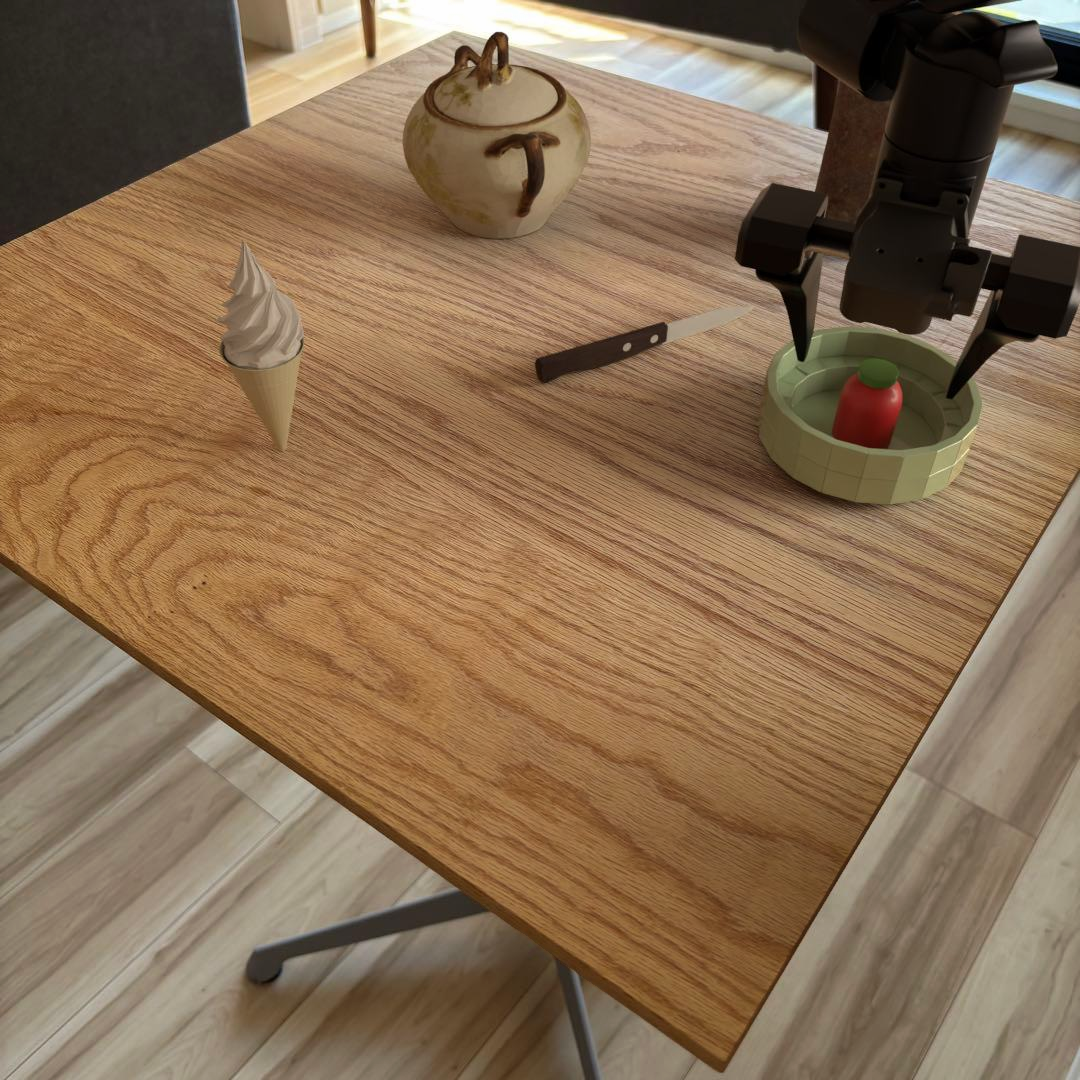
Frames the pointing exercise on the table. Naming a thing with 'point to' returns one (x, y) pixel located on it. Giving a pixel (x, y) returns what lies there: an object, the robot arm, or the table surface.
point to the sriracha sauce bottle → (869, 405)
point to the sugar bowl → (496, 143)
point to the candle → (851, 152)
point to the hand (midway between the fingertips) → (874, 376)
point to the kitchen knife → (631, 343)
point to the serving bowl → (920, 433)
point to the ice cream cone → (263, 344)
